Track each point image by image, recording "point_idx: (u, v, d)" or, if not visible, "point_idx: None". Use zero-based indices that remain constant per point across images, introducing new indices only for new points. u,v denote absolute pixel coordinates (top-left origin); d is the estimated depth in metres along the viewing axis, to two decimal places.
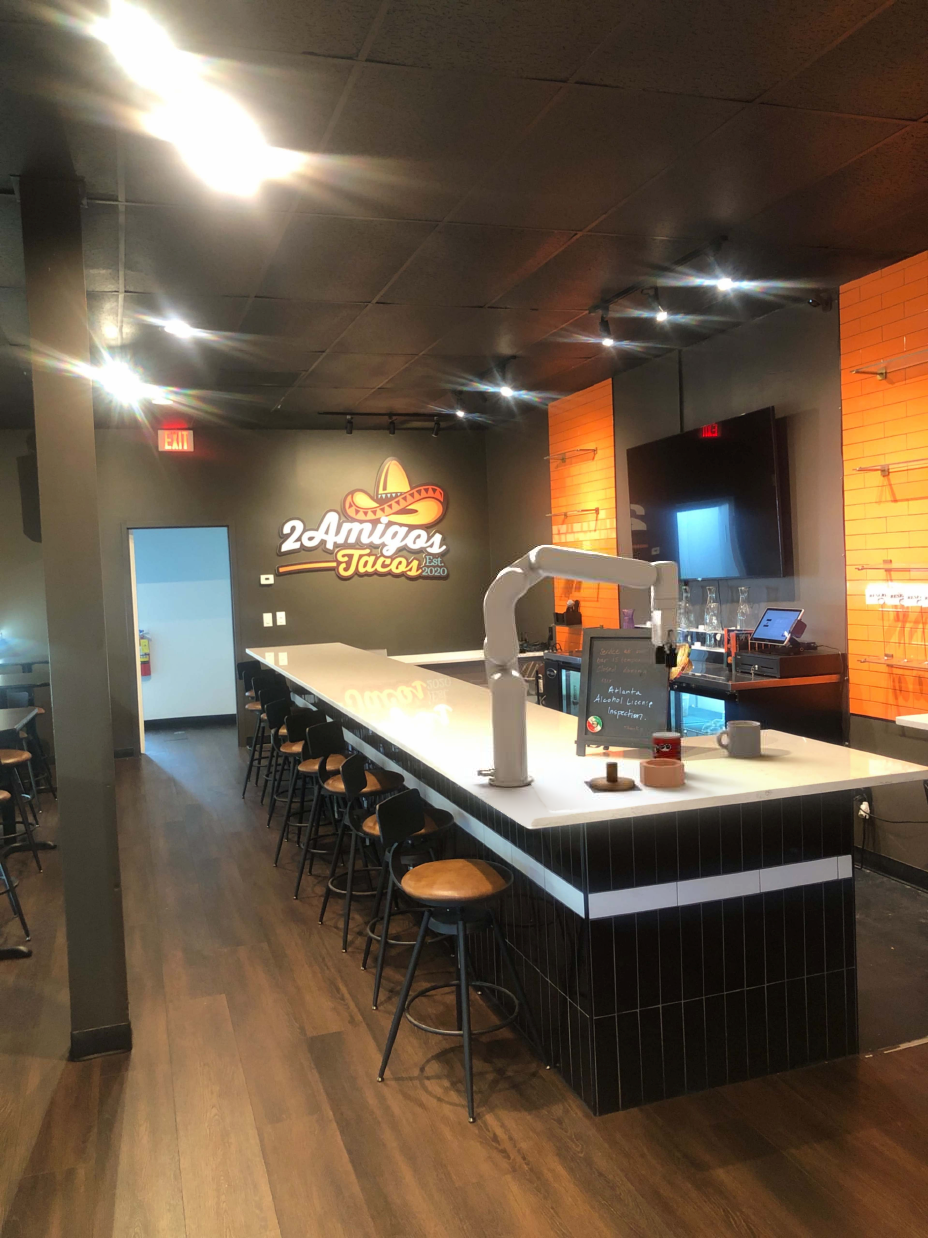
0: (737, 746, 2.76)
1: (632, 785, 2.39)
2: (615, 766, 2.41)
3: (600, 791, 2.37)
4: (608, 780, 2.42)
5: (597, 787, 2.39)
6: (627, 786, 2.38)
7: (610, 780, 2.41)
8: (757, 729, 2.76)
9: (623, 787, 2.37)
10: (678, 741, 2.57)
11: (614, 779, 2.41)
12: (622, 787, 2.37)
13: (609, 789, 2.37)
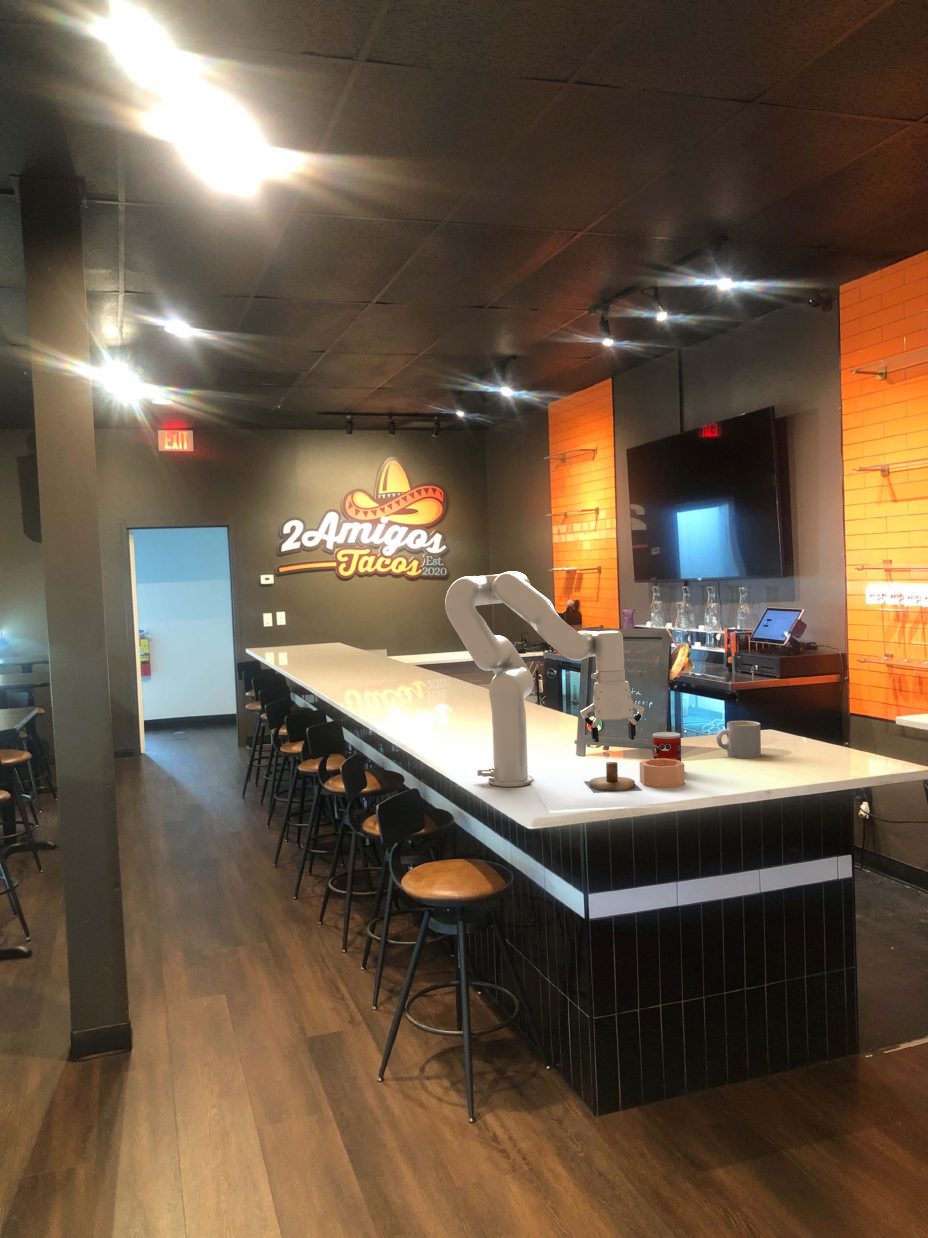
0: (737, 746, 2.76)
1: (632, 785, 2.39)
2: (615, 766, 2.41)
3: (600, 791, 2.37)
4: (608, 780, 2.42)
5: (597, 787, 2.39)
6: (627, 786, 2.38)
7: (610, 780, 2.41)
8: (757, 729, 2.76)
9: (623, 787, 2.37)
10: (678, 741, 2.57)
11: (614, 779, 2.41)
12: (622, 787, 2.37)
13: (609, 789, 2.37)
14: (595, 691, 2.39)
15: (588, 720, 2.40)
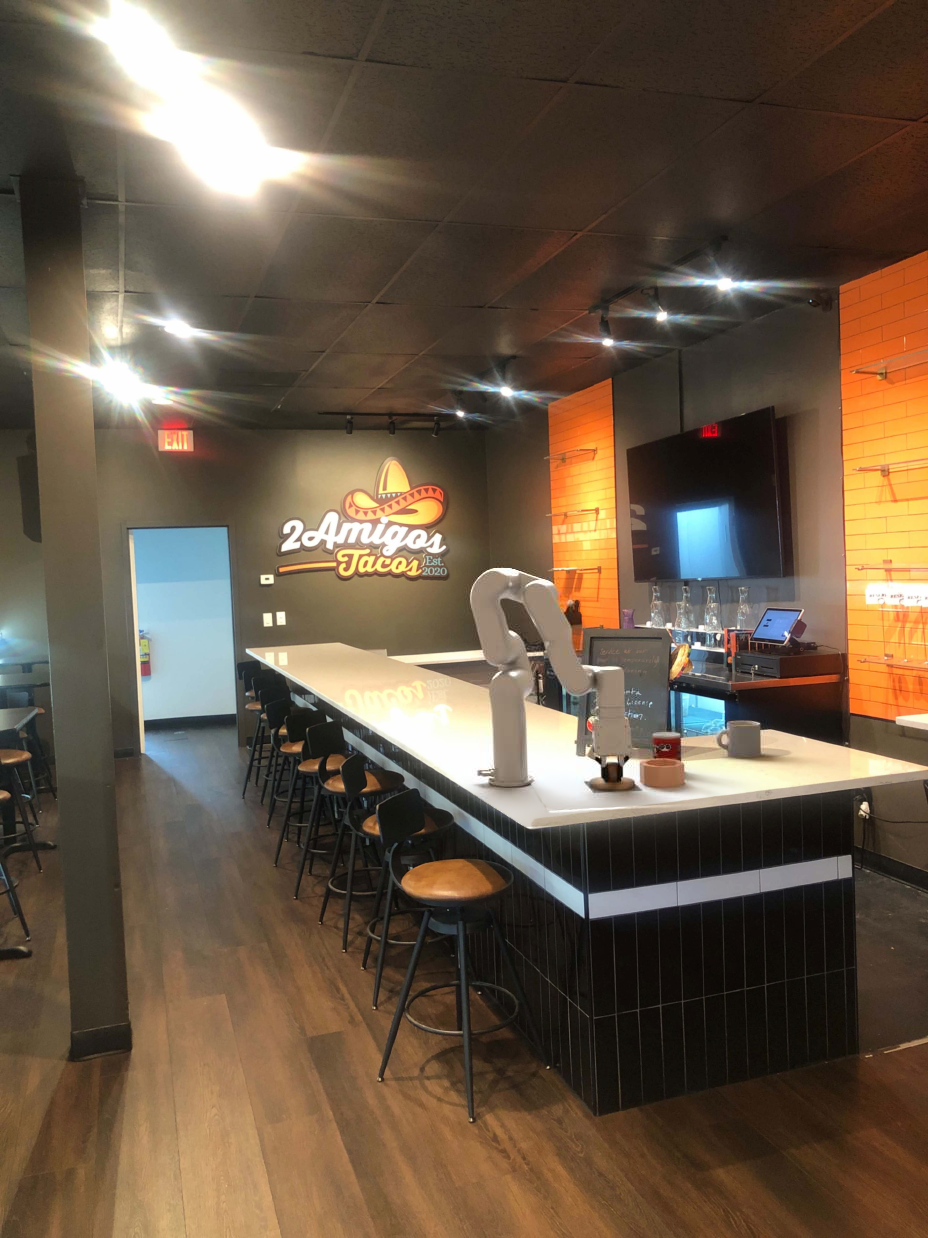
0: (737, 746, 2.76)
1: (632, 785, 2.39)
2: (615, 766, 2.41)
3: (600, 791, 2.37)
4: (608, 780, 2.42)
5: (597, 787, 2.39)
6: (627, 786, 2.38)
7: (610, 780, 2.41)
8: (757, 729, 2.76)
9: (623, 787, 2.37)
10: (678, 741, 2.57)
11: (614, 778, 2.41)
12: (622, 787, 2.37)
13: (609, 789, 2.37)
14: (595, 727, 2.40)
15: (598, 759, 2.41)
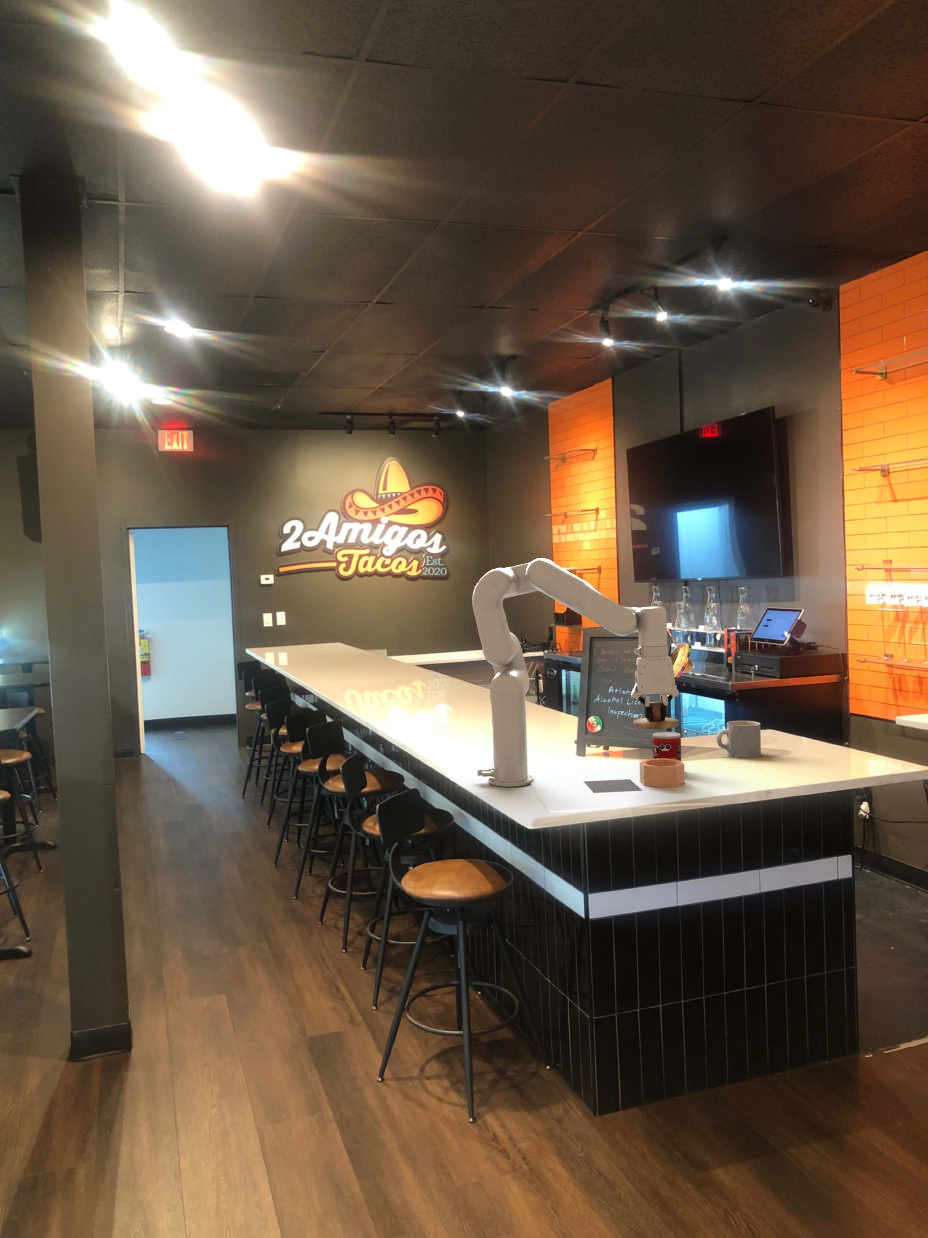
0: (737, 746, 2.76)
1: (676, 723, 2.40)
2: (659, 705, 2.42)
3: (600, 791, 2.37)
4: (652, 719, 2.43)
5: (641, 726, 2.40)
6: (671, 724, 2.38)
7: (654, 719, 2.42)
8: (757, 729, 2.76)
9: (668, 725, 2.38)
10: (678, 741, 2.57)
11: (658, 718, 2.42)
12: (667, 725, 2.38)
13: (654, 727, 2.38)
14: (638, 666, 2.41)
15: (642, 699, 2.42)
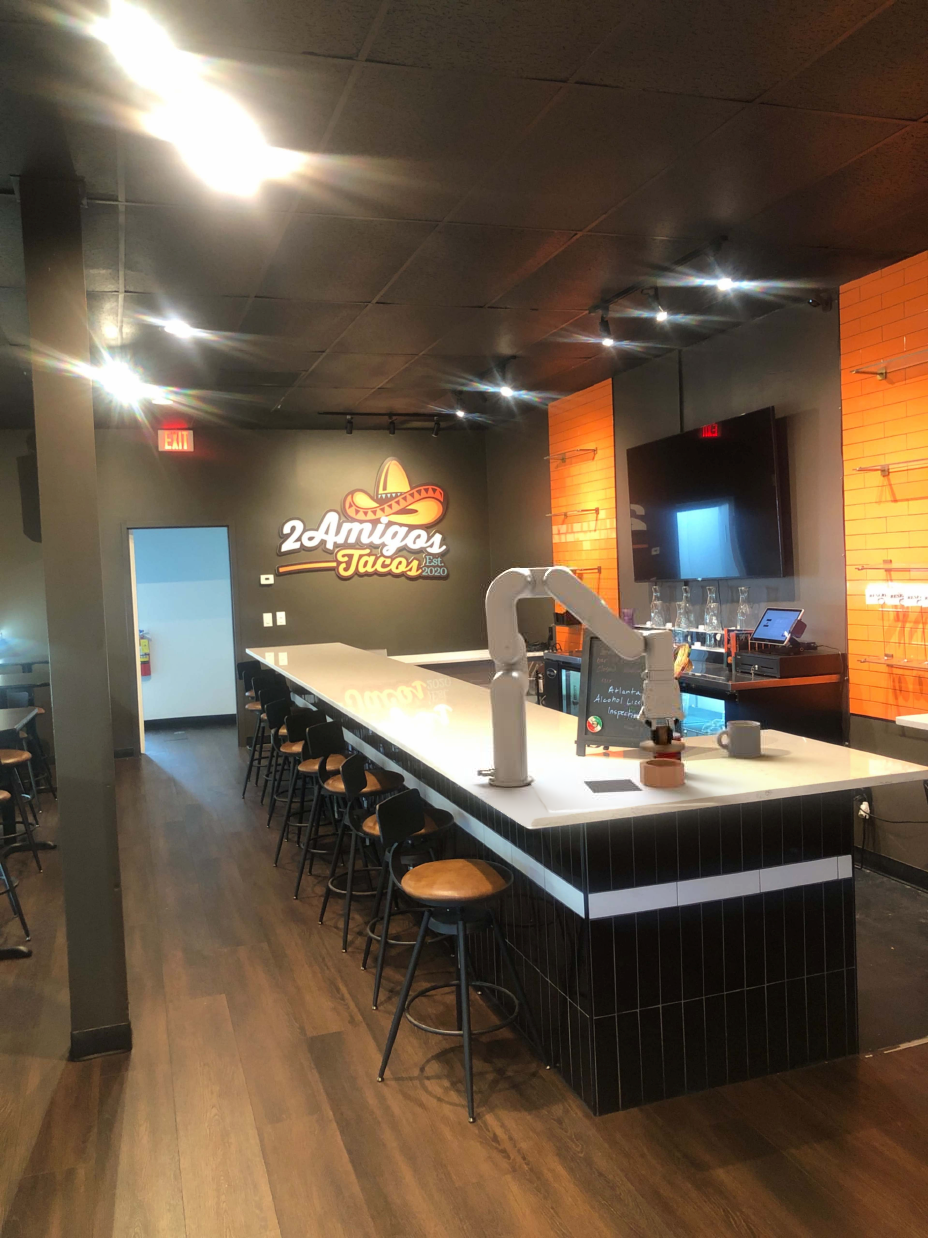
0: (737, 746, 2.76)
1: (683, 747, 2.41)
2: (665, 728, 2.43)
3: (600, 791, 2.37)
4: (658, 742, 2.43)
5: (648, 749, 2.40)
6: (678, 748, 2.39)
7: (660, 742, 2.43)
8: (757, 729, 2.76)
9: (674, 749, 2.39)
10: None
11: (664, 741, 2.43)
12: (673, 749, 2.38)
13: (661, 750, 2.38)
14: (645, 690, 2.42)
15: (648, 722, 2.43)
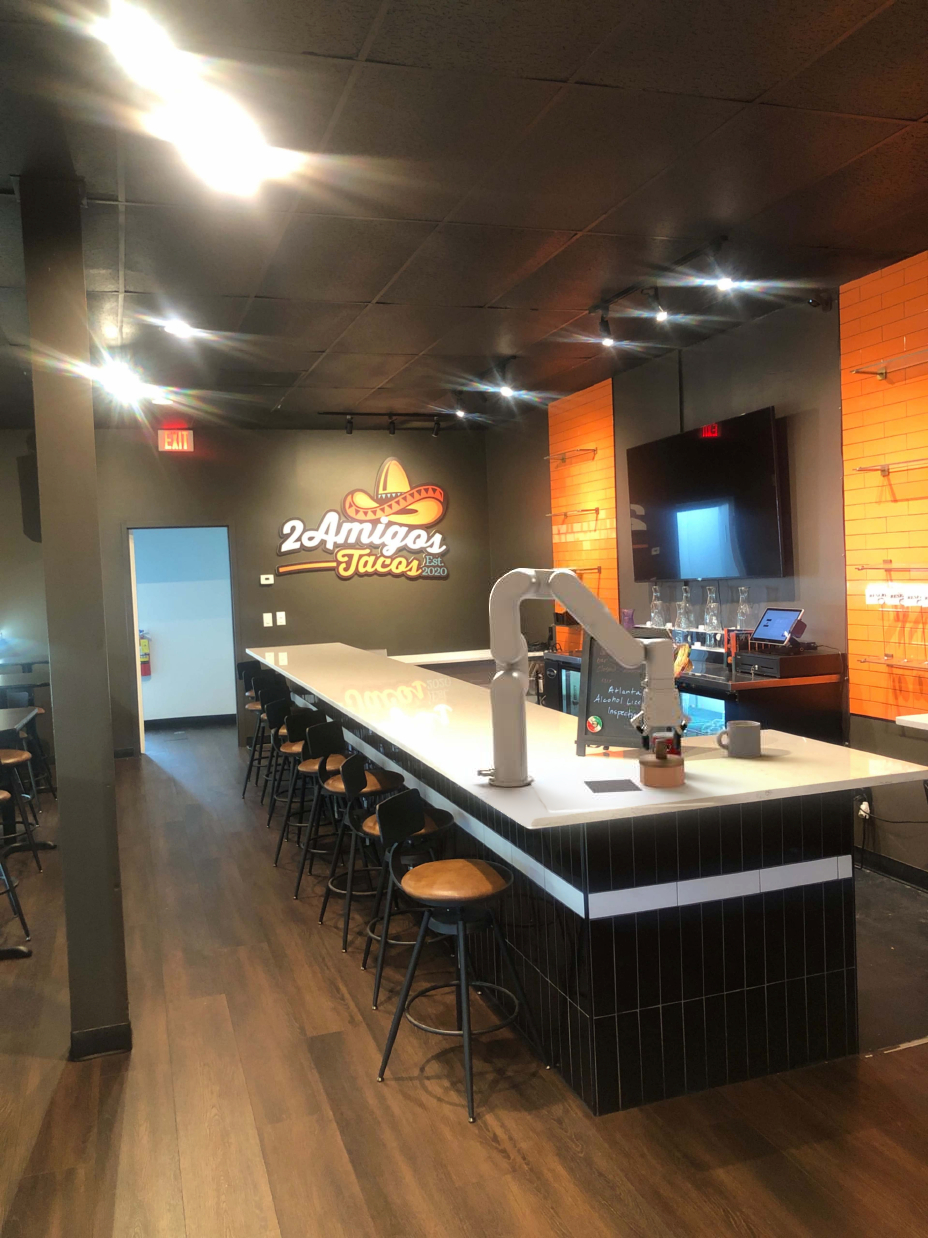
0: (737, 746, 2.76)
1: (682, 762, 2.41)
2: (664, 743, 2.43)
3: (600, 791, 2.37)
4: (657, 757, 2.43)
5: (647, 764, 2.41)
6: (677, 763, 2.39)
7: (660, 757, 2.43)
8: (757, 729, 2.76)
9: (673, 764, 2.39)
10: None
11: (663, 755, 2.43)
12: (672, 764, 2.39)
13: (660, 765, 2.39)
14: (645, 698, 2.42)
15: (639, 728, 2.43)
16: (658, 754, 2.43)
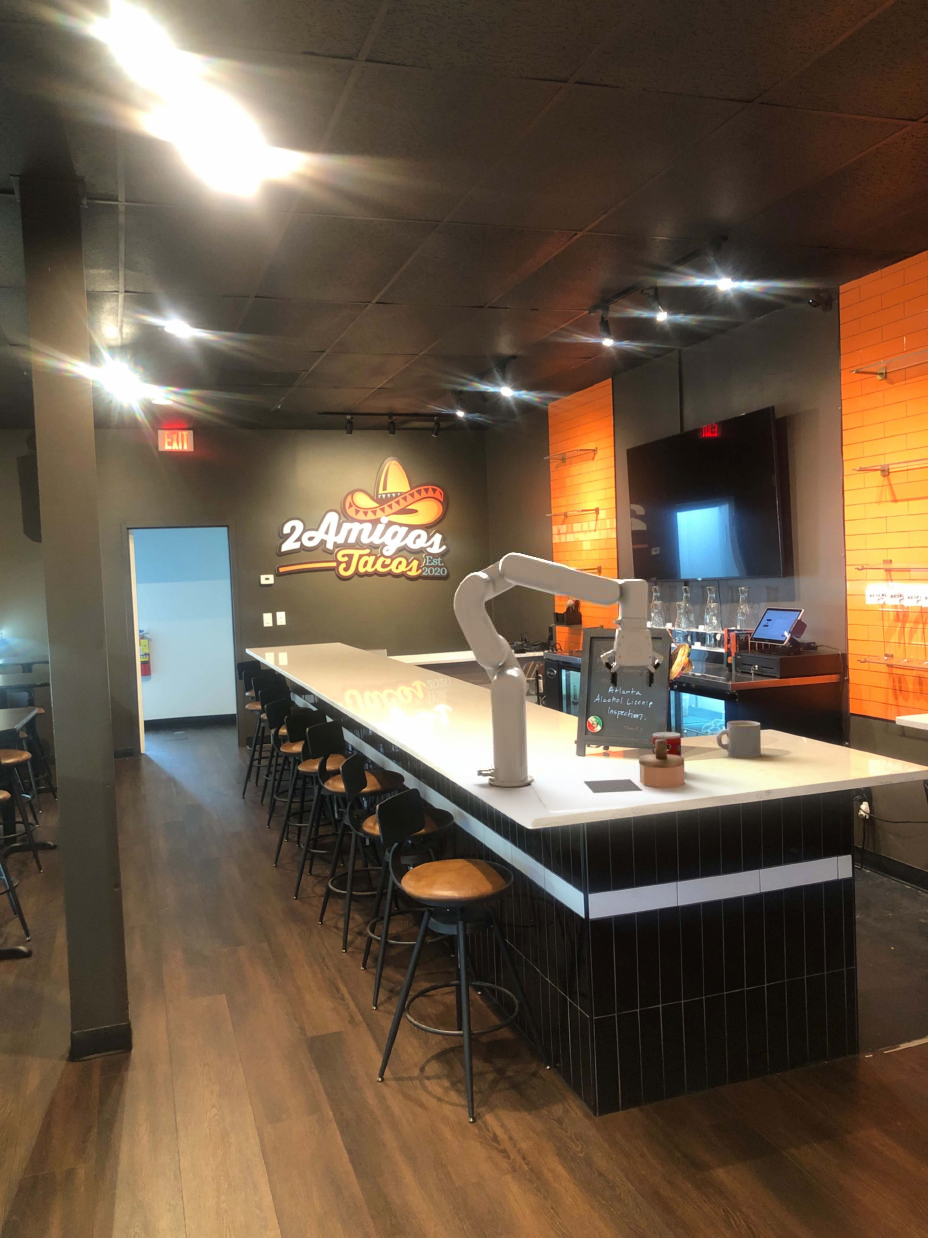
0: (737, 746, 2.76)
1: (682, 762, 2.41)
2: (664, 743, 2.43)
3: (600, 791, 2.37)
4: (657, 757, 2.43)
5: (647, 764, 2.41)
6: (677, 763, 2.39)
7: (660, 757, 2.43)
8: (757, 729, 2.76)
9: (673, 764, 2.39)
10: (678, 741, 2.57)
11: (663, 755, 2.43)
12: (672, 764, 2.39)
13: (660, 765, 2.39)
14: (617, 637, 2.45)
15: (608, 665, 2.46)
16: (658, 754, 2.43)
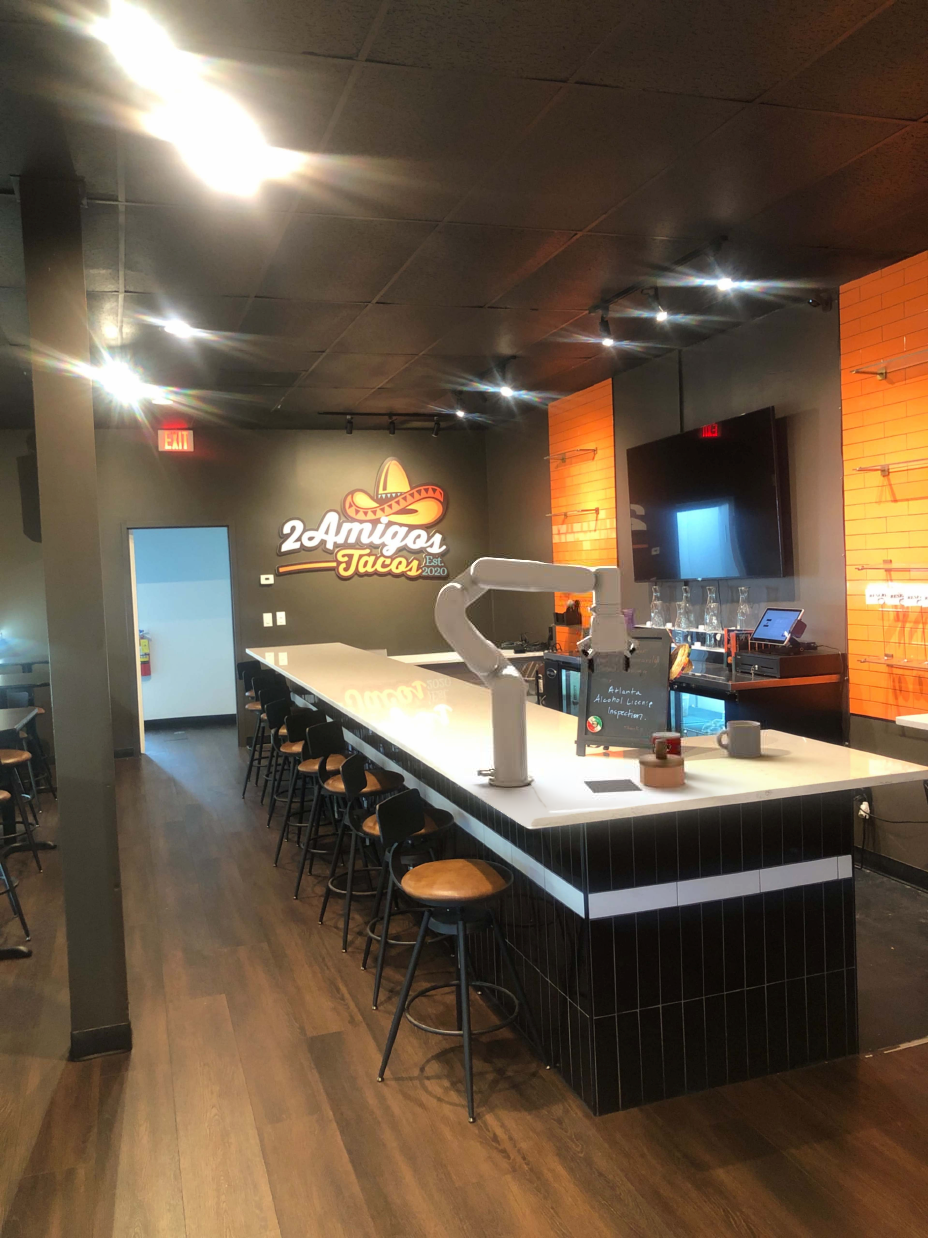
0: (737, 746, 2.76)
1: (682, 762, 2.41)
2: (664, 743, 2.43)
3: (600, 791, 2.37)
4: (657, 757, 2.43)
5: (647, 764, 2.41)
6: (677, 763, 2.39)
7: (660, 757, 2.43)
8: (757, 729, 2.76)
9: (673, 764, 2.39)
10: (678, 741, 2.57)
11: (663, 755, 2.43)
12: (672, 764, 2.39)
13: (660, 765, 2.39)
14: (592, 623, 2.49)
15: (584, 651, 2.50)
16: (658, 754, 2.43)
